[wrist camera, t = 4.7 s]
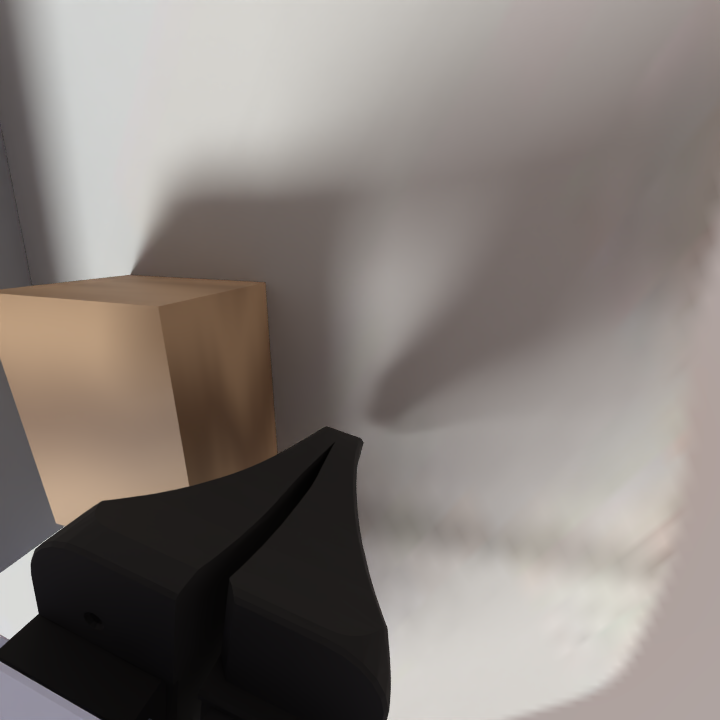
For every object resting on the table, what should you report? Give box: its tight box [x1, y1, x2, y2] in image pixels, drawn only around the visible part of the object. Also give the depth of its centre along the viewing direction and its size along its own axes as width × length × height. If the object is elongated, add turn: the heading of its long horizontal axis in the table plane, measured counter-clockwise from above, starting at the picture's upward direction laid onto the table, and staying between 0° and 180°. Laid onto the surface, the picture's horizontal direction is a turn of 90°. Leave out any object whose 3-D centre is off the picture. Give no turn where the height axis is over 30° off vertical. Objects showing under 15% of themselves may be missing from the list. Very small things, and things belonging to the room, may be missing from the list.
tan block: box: [0, 275, 277, 526], centre depth 13 cm, size 8×6×5 cm
